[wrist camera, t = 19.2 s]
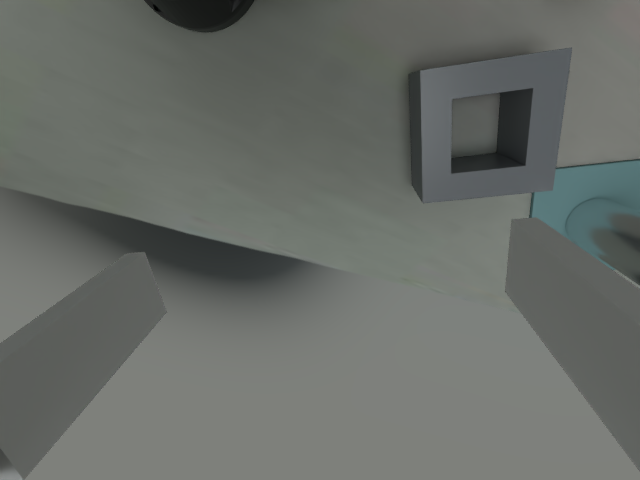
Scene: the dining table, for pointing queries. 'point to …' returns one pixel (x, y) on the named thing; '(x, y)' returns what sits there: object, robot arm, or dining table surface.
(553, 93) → the grey hollow square block
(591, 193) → the teal mat
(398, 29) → the dining table surface
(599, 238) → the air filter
